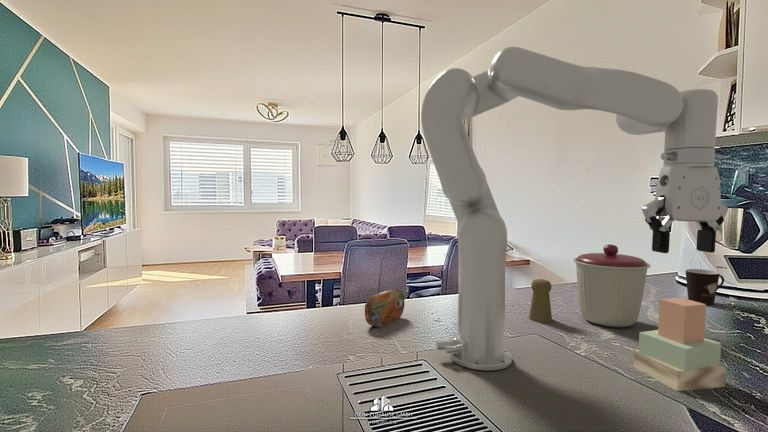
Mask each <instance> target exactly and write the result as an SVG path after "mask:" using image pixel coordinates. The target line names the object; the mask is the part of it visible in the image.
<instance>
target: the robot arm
mask: <svg viewBox="0 0 768 432" xmlns="http://www.w3.org/2000/svg"><path fill="white" fill-rule="evenodd" d="M718 96H719V95H718V94H717V93H716V91H715V90H712V89H706V88H697V89H695V88H694V89H687V90H683V91H680V90H678V89H677V87H676V86H673V85H672V84H670V83H667V82H666V81H663V80H660V79H657V78H654V77H650V76H648V75H647V76H646V75H644V74H641V73H637V72H633V71H629V70H623V69H615V68H605V67H604V68H603V67H597V66H582V65H577V64H575V63H570V62H569V61H565V60H561V59H558V58H555V57H552V56H550V55H545V54H542V53H539V52H535V51H533V50H529V49H526V48H522V47H519V46H508V47H505V48H503V49H501V50H500V51H498V53H496V55H495V56H494V58H493V59H492V62H491V64H490V66H489V68H488V69H487V70H485V71H482V72H481V73H478V74H476V75H474V76H472V74H470V73H469V72H468V71H467V70H466V69H463V68H459V67H454V68H448V69H446V70H445V71H444V70H443V72H441V73H440V74H438V76H437V77H436V78H435V79H434V80H433V81H432V83H431V84H430V85H429V87H428V88H427V91H426V92H425V95H424V98H423V101H422V106H421V112H420V113H421V119H420V121H421V126H422V128H421V129H422V132H423V136H424V139H425V143H426V145H427V149H428V152H429V154H430V157H431V160H432V162H433V165H434V167H435V171H436V173H437V176H438V179H439V182H440V185H441V189H442V193H443V194H444V196H445V197H446V199H447V200H448V201H449V204H450V207H451V208H452V212H453V215H454V216H455V219H456V222H457V224H458V226H459V227H458V231H457V235H458V236H457V248H458V249H457V250H458V251H457V252H458V253H457V254H458V255H457V257H458V263H457V265H458V274H457V275H458V276H457V277H458V283H457V284H458V299H457V300H458V302H457V303H458V306H457V307H458V308H457V312H458V313H457V317H458V318H457V333H453V338H449V339H448V340H435V344H434V345H435V349H436V351H444V352H445V354H450V358H451V360H452V361H453V362H454V363H456V364H457V365H459V366H462V367H464V368H467V369H471V370H477V371H490V372H491V371H499V370H502V369H506V368H507V367H510V365H511V364H512V362H513V356H512V354H511V352H510V351H509V350H507V349H505V333H506V331H505V330H506V328H505V325H506V324H505V322H506V321H505V320H506V319H505V318H506V267H507V266H506V265H507V250H508V249H507V248H508V230H507V225H506V223H505V221H504V219H503V217H502V215H500V211H499V210H498V206H497V205H496V201H495V199H494V197H493V194H492V192H491V188H490V186H489V184H488V181H487V176H486V174H485V172H484V170H483V168H482V167H481V165H480V163H479V161H478V159H477V157H476V154H475V152H474V149H473V146H472V143H471V141H470V137H469V135H468V132H467V129H466V127H465V120H468V119H471V118H474V117H476V116H478V115H481V114H483V113H485V112H488V111H490V110H493V109H495V108H498V107H500V106H502V105H504V104H507V103H508V102H511V101H513V100H515V99H517V98H518V97H521V98H522V99H523V98H524V99H527V100H529V101H533V102H536V103H539V104H541V105H544V106H548V107H550V108H553V109H556V110H561V111H580V110H593V111H594V110H595V111H600V112H601V111H602V112H606V113H610V114H615V121H616V125H617V126H618V128H619V129H620V130H621V131H622V132H624V133H625V134H629V135H632V136H640V135H642V136H643V135H648V134H649V135H650V134H656V133H664V148H663V149H664V150H663V152H662V153H661V155H660V159H661V161H663V166H662V167H661V168H660V171H659V174H658V178H657V182H656V188H655V195H654V196H655V197H654V200H652V201H650V202H648V203H646V204H645V205H643V206H642V207H641V211H642V214H643V216H644V221H645V222H646V224H647V226H649V230H651V231H652V243H651V251H652V252H656V253H661V254H668V253H669V251H670V242H671V241H670V239H671V238H670V237H671V236H670V235H671V232H670V231H668V229H669V227H671V226H672V224H673V223H674V221H677V222H696V224H697V225H698V226H699V228H700V229H697V231H696V232H697V234H696V246H695V247H696V250H697V251H698V252H702V253H703V252H704V253H715V252H716V242H717V241H716V238H717V237H716V236H717V232H718V231H720V226H721V225H722V224H723V223H724V221H725V218H726V216H727V213H728V211H729V207H728V206H726V205H725V204H723V203H722V202H721V201H722V200H721V199H722V198H721V197H722V195H721V194H722V193H721V191H722V190H721V181H720V175H719V174H720V173H719V170H718V167H717V166H715V157H716V156H715V153H716V139H717V138H716V136H717V119H718V107H719V97H718Z"/></svg>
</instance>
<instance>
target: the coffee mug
mask: <svg viewBox="0 0 768 432" xmlns="http://www.w3.org/2000/svg"><path fill="white" fill-rule="evenodd" d="M720 278H721V283H720V284H719V279H720ZM685 279H686V281H685V282H686V289H687V299H688V300H691V301H695V302H699V303H703V304H706V306H713V305H714V304H715V300H716V294H717V290H719V289H720V288H722V286H723V285H724V283H725V278H724V276H723V275H722V274H721V273H720V272H719V271H715V270H710V269H703V268H702V269H701V268H686V269H685Z"/></svg>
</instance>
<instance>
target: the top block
mask: <svg viewBox="0 0 768 432" xmlns="http://www.w3.org/2000/svg"><path fill="white" fill-rule="evenodd" d="M721 348H722V343H721V342H718V341H716V340H712V339H709V338H706V337H704V342H697V343H688V344H681V343H679V342H676V341H673V340H671V339H668V338H665V337H663V336H660V335H658V329H655V330H648V331H640V332H639V334H638V350H639V353H642V354H644V355H646V356H649V357H651V358H654V359H656V360H659V361H661V362H663V363H666V364H668V365H671V366H673V367H675V368H678V369H680V370H683V371H689V370H694V369H700V368H705V367H710V366H716V365H721V357H722V356H721V354H722V353H721V352H722V349H721Z"/></svg>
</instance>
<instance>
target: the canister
mask: <svg viewBox="0 0 768 432" xmlns="http://www.w3.org/2000/svg"><path fill="white" fill-rule="evenodd" d="M602 248H603V249H602V250H603V252H591V253H583V254H582V253H581V254H580V255H578V256H577V257H574V258H573V259H572V260H573V263H575V270H576V281H577V292H578V301H579V309H580V313H581V314H582V317H583V318H584V319H585V320H587V321H588V322H590V323H592V324H596V325H599V326H604V327H610V328H611V327H612V328H628V327H631V326H633V325H635V324H636V323H637V321H638V320H639V316H640V313H641V306H642V303H643V297H644V292H645V285H646V279H647V273H648V269H649V268H651V263H648V262H646V261H645V260H644V259H643V258H640V257H637V256H633V255H627V254H620V253H618V252H619V247H618V246H617V245H615V244H612V243H611V244H606V245H604V246H603V247H602Z"/></svg>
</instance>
